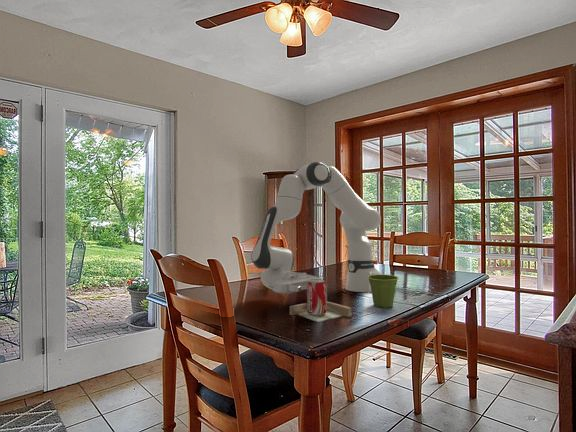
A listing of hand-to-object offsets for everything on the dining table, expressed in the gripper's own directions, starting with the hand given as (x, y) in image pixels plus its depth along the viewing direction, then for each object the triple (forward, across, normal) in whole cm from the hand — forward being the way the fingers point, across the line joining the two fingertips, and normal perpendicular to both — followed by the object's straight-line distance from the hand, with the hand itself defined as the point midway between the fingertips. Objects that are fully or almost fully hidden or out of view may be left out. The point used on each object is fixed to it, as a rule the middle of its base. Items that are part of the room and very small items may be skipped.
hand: (309, 287), depth 131 cm
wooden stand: (+6, 0, +9) cm, 11 cm away
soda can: (+5, -1, +9) cm, 10 cm away
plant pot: (+11, +28, +9) cm, 31 cm away
